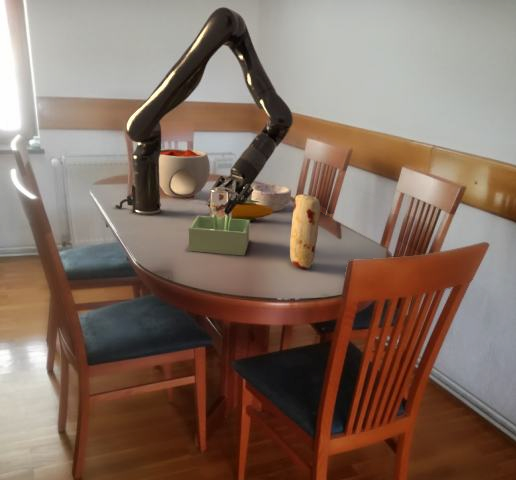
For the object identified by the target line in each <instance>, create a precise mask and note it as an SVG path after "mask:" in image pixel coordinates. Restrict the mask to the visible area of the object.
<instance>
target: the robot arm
mask: <svg viewBox="0 0 516 480" xmlns="http://www.w3.org/2000/svg"><path fill="white" fill-rule="evenodd" d="M223 46H226V47H228V49H229V50H230V52H231V53H232V54H233V55H234V57H235V58H236V60H237V62H238V64H239V67H240V68H241V72H242V74H243V75H242V77H243V79H244V83H245V86H246V88H247V91H248V92H249V94H250V96H251V98H252V100H253V102H254V103H255V105H256V107H257V108H258V109H259V110H260V111H264V112H265V114H266V115H267V118H268V120H267V122H266V123H265V125H264V127H263V128H262V130H261V131H260V132H259V133H258V134H256V136H255V137H254V138H253V139H252V141H251V142H250V143H249V144H248V146H247V147H246V148H245V149H244V151H243V152H242V153H241V154H240V155H239V157H238V158H237V160H236V161H235V162H234V163H233V165H232V167H231V168H230V174H229V175H228V176H227V177H224V176H223V175H220V176H219V177H218V178H217V180H216V181H215V183H214V184H213V185H212V187H211V188H214V187H221V188H223V187H225V191H227V192H229V191H232V197H231V200H229V202H228V203H227V205H226V206H225V207H224V209H223V211H224V213H225V214H227V215H228V214H229V213H230V212H231V211H232V210H233V208H234V207H235V206H236V205H238V204H240V205H243V204H244V203H245V201H246V200H249V199H248V198H249V197H250V196H252V192H253V190H254V189H253V186H252V185H253V183H254V182H255V180H256V179H257V177H258V176H259V175H260V174H261V172H262V171H263V170H264V167H265V166H266V164H267V162H268V161H269V159H270V158H271V157H272V156H273V154H274V153H275V150H276V149H277V148H278V146H279V145H280V144H281V143H282V142H283V141H284V139H285V138H286V137H287V136H288V134H289V131H290V130H291V129H292V126H293V124H294V116H293V113H292V110H291V108H290V107H289V106H288V104H287V103H286V102H285V101H284V99H283V98H282V96H280V95H279V94H278V92H277V90H276V88H275V87H274V85H273V83H272V81H271V79H270V77H269V76H268V73H267V72H266V70H265V68H264V66H263V64H262V62H261V60H260V58H259V55H258V53H257V50H256V49H255V45H254V44H253V41H252V37H251V35H250V32H249V29H248V26H247V24H246V22H245V19H244V17H243V16H242V15H241V14H240V13H238V12H236V11H235V10H233V9H231V8H229V7H225V6H221V7H219V8H216V9H215V10H214V11H213V12H212V13H211V14H210V15H209V16H208V18H207V19H206V21H205V23H204V24H203V26H202V27H201V29H200V30H199V32H198V33H197V35H196V37H195V38H194V40H193V41H192V43H190V45H189V46H188V48H186V49H185V51H184V52H183V53H182V55H181V56H180V57H179V59H178V60H177V61H176V62H175V63H174V64H173V65H172V66H171V68H170V69H169V70H168V72H167V73H166V74H165V76H164V77H163V78H162V79H161V81H159V83H158V85H157V86H156V87H155V88H154V90H153V91H152V93H151V94H150V95H149V97H148V98H147V99H145V101H144V102H143V103H142V104H141V105H140V106H139V107H138V108H137V109H136V110H135V111H134V112H133V113H131V115H130V116H129V117H128V119H127V120H126V125H125V133H126V135H127V137H128V138H129V140H131V141H132V142H135V143H136V148H135V149H134V151H133V152H132V154H131V162H132V163H131V164H132V184H131V193H129V194H128V195H127V196H126V198H124V199H122V200H120V202H119V205H118V204H116V205H114V206H115V209H121V208H122V207H123V203H127V206H130V207H131V206H132V213H135V214H138V215H145V216H147V215H149V216H151V215H158V214H161V212H162V211H161V207H162V203H161V186H160V178H159V157H160V154H161V149H162V125H161V121H162V119H163V118H164V117H166V115H168V114H169V113H171V112H172V111H173V110H175V109H176V108H177V107H179V106H180V105H181V104H182V103H184V102H185V101H186V100H187V99H189V97H190V96H191V95H192V94H193V93H194V92H195V90H196V89H197V88H198V86H199V85H200V83H201V81H202V79H203V76H204V74H205V71H206V69H207V65H208V63H209V62H210V60H211V59H212V58H213V56H214V55H215V54H216V53H217V52H218V51H219V49H221V48H222V47H223ZM221 188H220V189H221ZM206 205H207V207H208V208H209V209H210V199H209V200H208V201H207V204H206Z"/></svg>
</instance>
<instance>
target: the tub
mask: <svg viewBox="0 0 516 480" xmlns="http://www.w3.org/2000/svg"><path fill="white" fill-rule="evenodd" d="M250 224H251V221H250V220H243V219H231V222H230V231H225V230H213V229H212V220H211V216H206V215H197V216H196V217H195V219H193V221H192V223H191V225H190V226H189V227H188V251H189V252H199V253H211V254H223V255H234V256H235V255H236V256H245V255H246V252H247V249H248V245H249V242H250Z"/></svg>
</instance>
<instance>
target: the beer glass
mask: <svg viewBox="0 0 516 480" xmlns="http://www.w3.org/2000/svg"><path fill="white" fill-rule="evenodd" d="M220 188H221V187H214V188H212V187H211V188H210V194H209V200H210V208H209V213H210V217H211V220H212V229H213V230H225V231H230V222H231V217H232V212H233V210H232V211H231V212H230V213H229V214H228V215H227V214H225V213H224V211H223V209H224V207H225V206H226V205H227V203H228V202H229V200H231V197H232V191H229V192H227V191H225V187H223V188H221V189H220Z"/></svg>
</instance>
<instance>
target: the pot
mask: <svg viewBox="0 0 516 480" xmlns="http://www.w3.org/2000/svg"><path fill="white" fill-rule="evenodd" d="M209 159H210V158H209V156H208V154H207V153H205V152H204V151H200V150H194V149H189V148H188V149H186V148H185V149H184V148H161V154H160V157H159V178H160V189H162V191H163V192H164V194H166V195H167V196H169V197H171V198H176V199H177V198H178V199H186V198H191V197H193V196H195V195H197V194H198V193H200V191H202V190H203V188H204V187H205V186H206V184H207V183H208V181H209V177H210V172H211V164H210V160H209Z"/></svg>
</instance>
